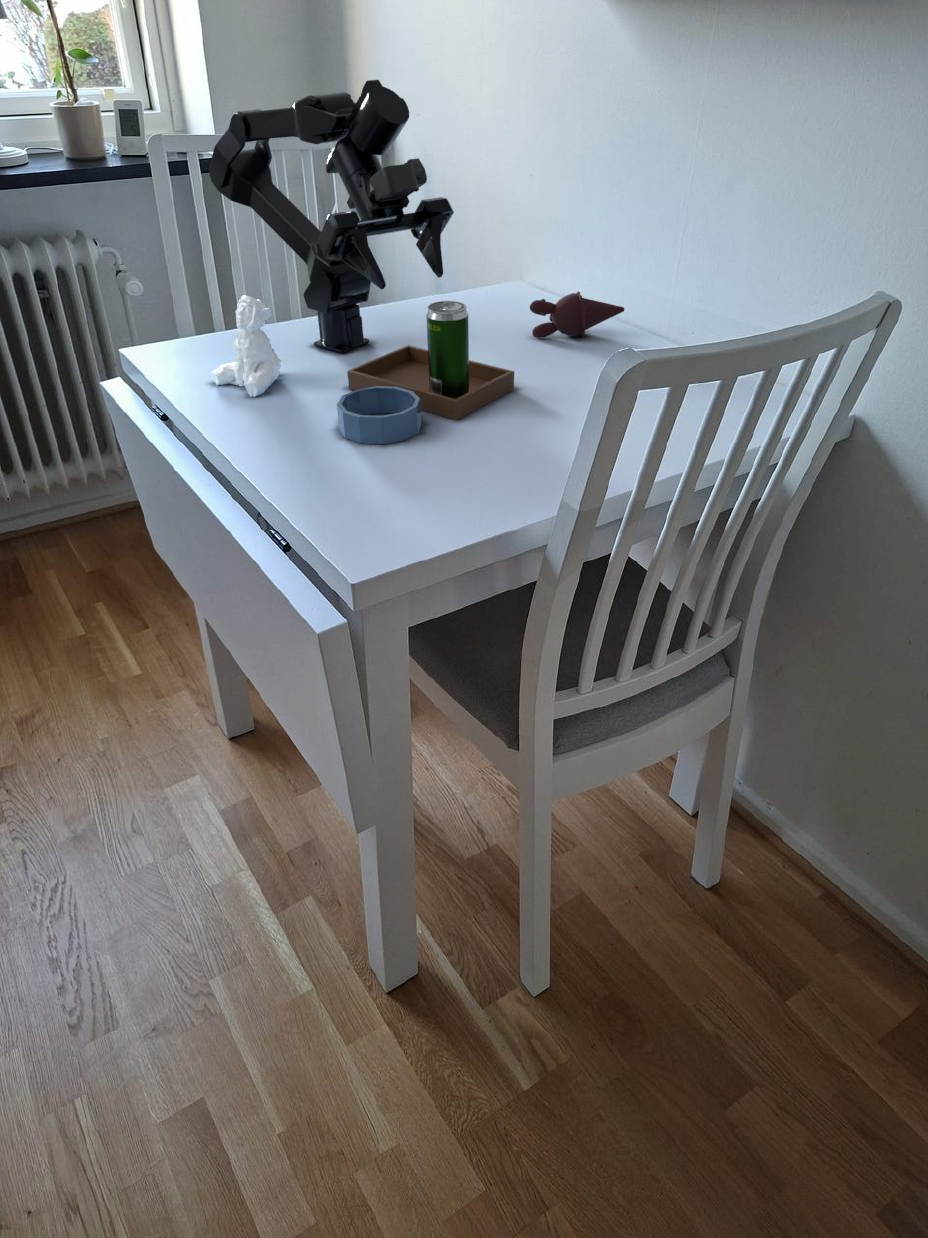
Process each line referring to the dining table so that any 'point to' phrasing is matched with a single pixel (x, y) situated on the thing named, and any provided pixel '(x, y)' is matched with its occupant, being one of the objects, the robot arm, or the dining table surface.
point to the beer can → (448, 348)
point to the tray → (413, 375)
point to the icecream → (572, 315)
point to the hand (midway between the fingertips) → (412, 281)
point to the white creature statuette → (251, 351)
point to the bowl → (379, 428)
